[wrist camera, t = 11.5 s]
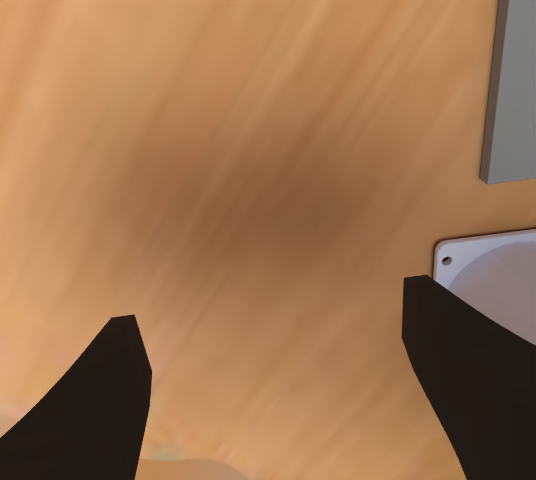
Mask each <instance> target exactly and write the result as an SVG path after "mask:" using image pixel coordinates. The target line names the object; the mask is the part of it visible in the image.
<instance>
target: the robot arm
mask: <svg viewBox="0 0 536 480" xmlns="http://www.w3.org/2000/svg"><path fill="white" fill-rule="evenodd" d="M445 257H449V258H448V260H447V261H444V262H442V259H444V258H445ZM402 339H403V342H404V345H405V348H406V351H407V354H408V356H409V359H410V362H411V364H412V367H413V370H414V372H415V374H416V376H417V378H418V380H419V382H420V384H421V386H422V388H423V390H424V392H425V394H426V396H427V397H428V399H429V401H430V403H431V405H432V407H433V409H434V411H435V413H436V415H437V417H438V419H439V421H440V422H441V424H442V426H443V428H444V430H445V432H446V434H447V436H448V438H449V440H450V442H451V444H452V446H453V448H454V450H455V452H456V455H457V457H458V459H459V461H460V464H461V466H462V469H463V471H464V474H465V476H466V479H467V480H536V229H531V230H523V231H516V232H508V233H500V234H492V235H484V236H476V237H468V238H460V239H452V240H445V241H442V242H440V243H439V244H438V245H437V246H436V249H435V258H434V274H433V279H432V278H431V277H429V276H428V275H422V276H414V277H407V278H404V288H403V316H402ZM151 381H152V370H151V367H150V363H149V360H148V357H147V354H146V350H145V347H144V344H143V341H142V337H141V334H140V331H139V328H138V324H137V321H136V318H135V315H128V316H120V317H113V318H111V319H110V320H109V321H108V322H107V324H106V325H105V326H104V327H103V329H102V330H101V331H100V332H99V333H98V335H97V336H96V337H95V338H94V340H93V341H92V342H91V343H90V345H89V346H88V347H87V348H86V349H85V351H84V352H83V353H82V354H81V356H80V357H79V358H78V359H77V360H76V361H75V363H74V364H73V365H72V366H71V367H70V368H69V370H68V371H67V372H66V373H65V374H64V375H63V376H62V378H61V379H60V380H59V381H58V382H57V383H56V384H55V385H54V386H53V387H52V388H51V389H50V390H49V392H48V393H47V394H46V395H45V396H44V397H43V398H42V399H41V400H40V401H39V402H38V403H37V404H36V405H35V406H34V407H33V408H32V409H31V410H30V411H29V412H28V413H27V414H26V415H25V416H24V417H23V418H22V419H21V420H20V421H18V422H17V423H16V424H15V425H14V426H13V427H12V428H11V429H10V430H9V431H8V432H6V433H5V434H4V435H3V436H2V437H1V438H0V480H134V479H135V475H136V470H137V465H138V460H139V456H140V451H141V446H142V441H143V437H144V432H145V427H146V422H147V417H148V412H149V407H150V395H151Z"/></svg>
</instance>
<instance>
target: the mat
mask: <svg viewBox="0 0 536 480" xmlns="http://www.w3.org/2000/svg"><path fill="white" fill-rule="evenodd" d="M535 178H536V0H499V4H498V14H497V23H496V32H495V41H494V51H493V60H492V69H491V78H490V87H489V97H488V106H487V115H486V124H485V134H484V143H483V152H482V161H481V171H480V179H481V180H483V181H484V182H485V183H486V184H487V185H488V184H496V183H504V182H512V181H520V180H527V179H535Z"/></svg>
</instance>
